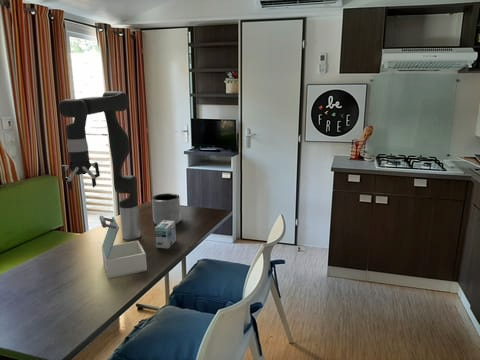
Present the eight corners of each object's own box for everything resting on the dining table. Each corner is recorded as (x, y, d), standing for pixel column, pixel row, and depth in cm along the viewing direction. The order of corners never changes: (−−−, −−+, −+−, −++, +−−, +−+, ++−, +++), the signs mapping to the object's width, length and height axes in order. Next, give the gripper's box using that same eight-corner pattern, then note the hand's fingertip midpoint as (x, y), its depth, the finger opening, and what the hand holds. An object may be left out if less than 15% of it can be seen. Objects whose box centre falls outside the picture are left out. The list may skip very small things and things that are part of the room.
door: (103, 246, 161) (89, 243, 158) (113, 216, 161) (99, 213, 158) (107, 259, 148) (92, 257, 145) (119, 227, 148) (103, 224, 144)
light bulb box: (168, 248, 178) (167, 228, 175) (155, 247, 179) (154, 227, 177) (176, 240, 188) (175, 220, 186) (164, 239, 189) (163, 219, 187)
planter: (178, 226, 207) (176, 200, 203) (150, 227, 207) (148, 200, 203) (183, 217, 222) (181, 192, 219) (156, 217, 222) (155, 193, 219)
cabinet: (103, 263, 163) (101, 246, 161) (139, 256, 170) (138, 240, 168) (108, 279, 149) (106, 261, 148) (147, 270, 156) (145, 253, 154)
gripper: (95, 147, 153) (99, 184, 157) (58, 149, 147) (63, 188, 151) (97, 149, 147) (101, 188, 151) (58, 152, 141) (63, 192, 145)
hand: (82, 188), depth 151 cm, fingers open, 8 cm apart
